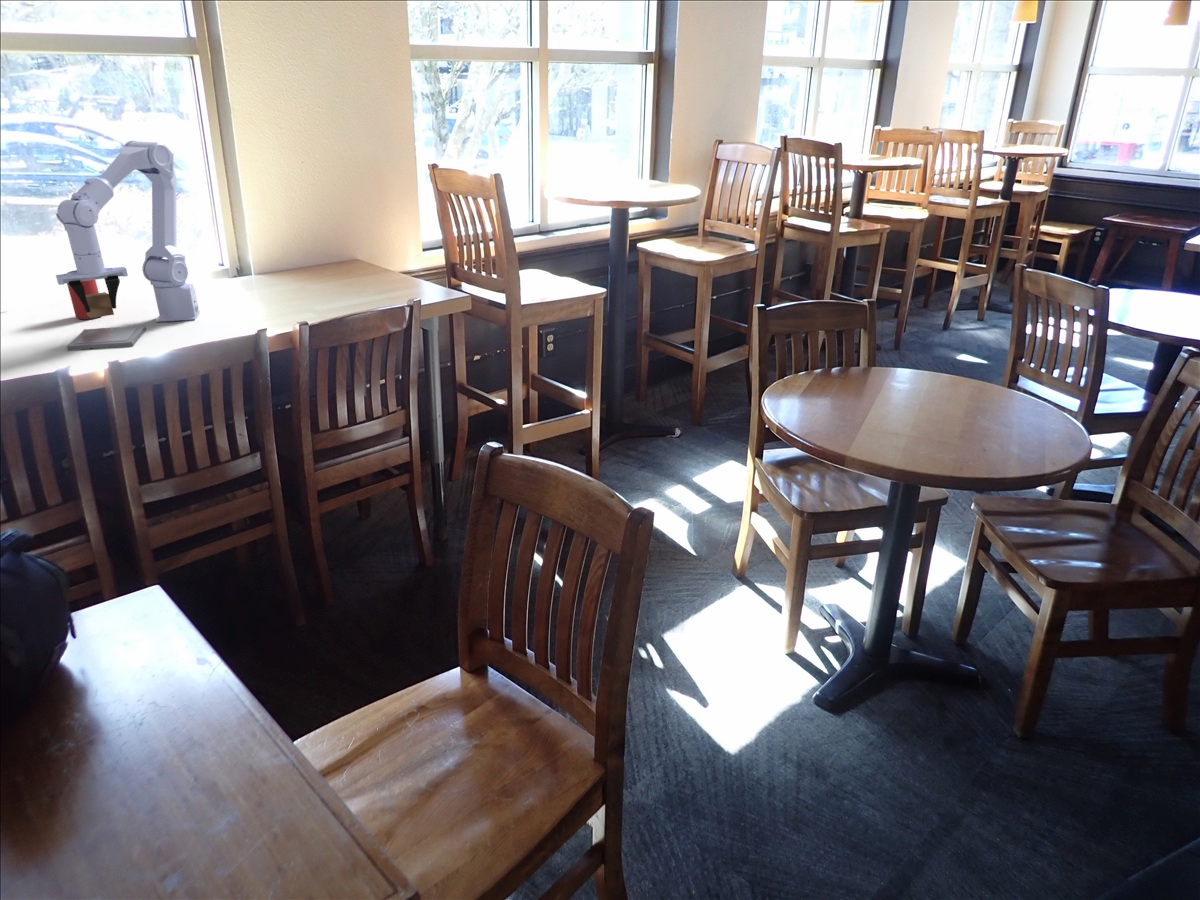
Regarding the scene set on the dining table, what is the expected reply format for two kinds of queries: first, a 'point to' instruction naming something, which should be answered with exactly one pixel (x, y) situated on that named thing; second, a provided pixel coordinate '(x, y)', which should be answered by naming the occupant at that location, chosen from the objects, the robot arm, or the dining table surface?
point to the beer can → (78, 307)
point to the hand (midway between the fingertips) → (101, 309)
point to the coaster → (107, 337)
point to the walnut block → (99, 305)
